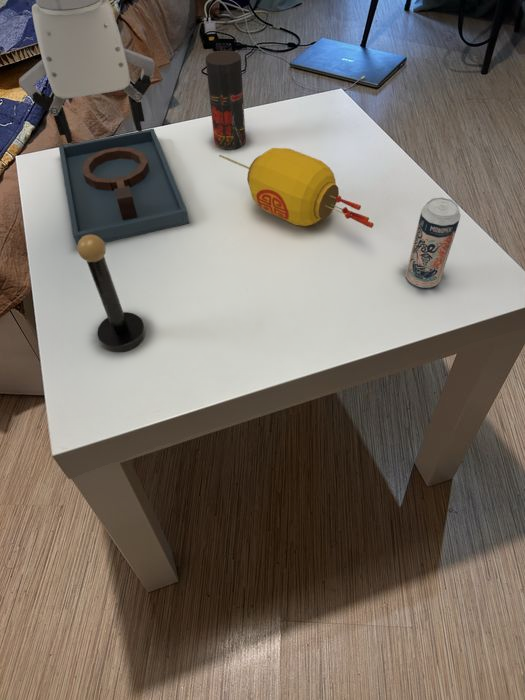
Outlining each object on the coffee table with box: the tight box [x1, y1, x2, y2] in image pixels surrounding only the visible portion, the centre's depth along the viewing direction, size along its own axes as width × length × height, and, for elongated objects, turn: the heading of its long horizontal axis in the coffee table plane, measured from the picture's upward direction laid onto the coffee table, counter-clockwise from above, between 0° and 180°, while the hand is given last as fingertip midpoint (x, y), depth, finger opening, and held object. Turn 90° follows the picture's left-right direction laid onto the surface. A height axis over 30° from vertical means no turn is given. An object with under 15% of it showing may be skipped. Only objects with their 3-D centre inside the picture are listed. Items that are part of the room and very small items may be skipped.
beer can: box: [405, 196, 462, 289], centre depth 69 cm, size 5×5×12 cm
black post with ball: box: [76, 234, 146, 353], centre depth 63 cm, size 6×6×16 cm
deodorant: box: [205, 49, 247, 151], centre depth 94 cm, size 6×6×15 cm
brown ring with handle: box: [82, 147, 149, 220], centre depth 89 cm, size 20×11×4 cm, turn 19°
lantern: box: [218, 147, 375, 229], centre depth 81 cm, size 10×10×30 cm
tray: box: [58, 128, 190, 246], centre depth 90 cm, size 18×28×2 cm, turn 18°
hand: (104, 132), depth 74 cm, fingers open, 9 cm apart
